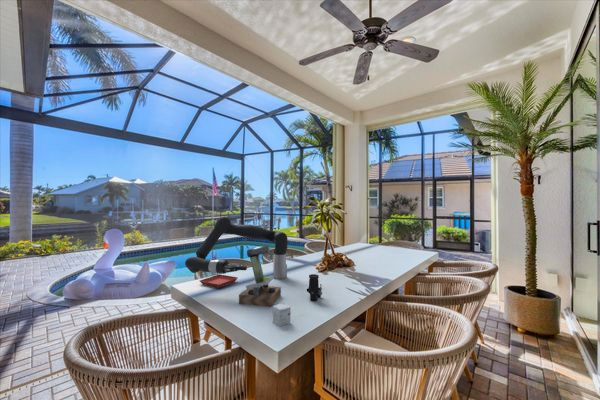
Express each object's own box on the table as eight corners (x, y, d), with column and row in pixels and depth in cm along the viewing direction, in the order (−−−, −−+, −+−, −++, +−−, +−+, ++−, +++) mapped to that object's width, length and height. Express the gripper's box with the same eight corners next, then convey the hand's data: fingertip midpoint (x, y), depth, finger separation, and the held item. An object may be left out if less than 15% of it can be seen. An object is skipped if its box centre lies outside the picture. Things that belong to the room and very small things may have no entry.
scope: (322, 273, 153) (320, 277, 143) (322, 297, 152) (320, 303, 143) (308, 272, 154) (305, 276, 144) (308, 295, 154) (305, 302, 144)
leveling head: (246, 292, 142) (237, 252, 144) (256, 284, 155) (247, 248, 156) (272, 287, 139) (263, 246, 141) (279, 280, 152) (270, 243, 153)
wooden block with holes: (238, 304, 140) (239, 287, 140) (251, 292, 158) (252, 277, 158) (270, 307, 137) (271, 289, 137) (280, 295, 154) (280, 280, 154)
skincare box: (279, 326, 115) (279, 309, 115) (272, 321, 120) (272, 305, 120) (290, 323, 119) (291, 306, 119) (283, 318, 124) (283, 302, 124)
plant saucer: (198, 285, 173) (198, 280, 173) (219, 278, 189) (219, 273, 189) (219, 289, 164) (219, 284, 164) (238, 282, 180) (238, 277, 180)
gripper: (212, 262, 147) (241, 264, 143) (224, 257, 160) (250, 259, 156) (212, 275, 147) (241, 278, 143) (224, 270, 160) (250, 271, 156)
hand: (246, 268), depth 149 cm, fingers closed
